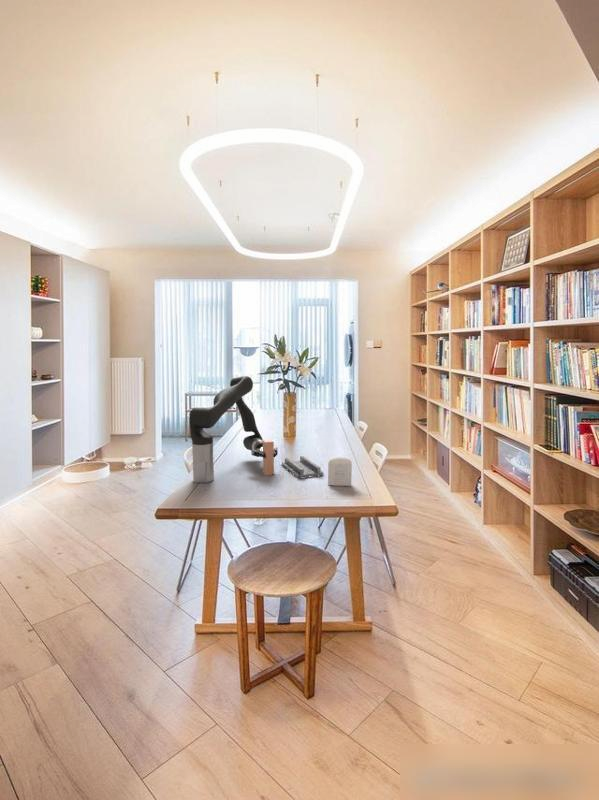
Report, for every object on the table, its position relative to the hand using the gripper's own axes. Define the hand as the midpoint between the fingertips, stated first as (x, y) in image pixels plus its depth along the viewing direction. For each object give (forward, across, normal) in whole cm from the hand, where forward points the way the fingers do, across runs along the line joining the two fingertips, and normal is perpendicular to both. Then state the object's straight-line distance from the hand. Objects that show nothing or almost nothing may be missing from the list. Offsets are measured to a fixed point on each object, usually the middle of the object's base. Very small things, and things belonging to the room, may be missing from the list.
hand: (269, 455), depth 196 cm
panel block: (-3, 0, +10) cm, 10 cm away
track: (-3, +17, +10) cm, 20 cm away
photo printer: (+25, +25, +10) cm, 36 cm away
